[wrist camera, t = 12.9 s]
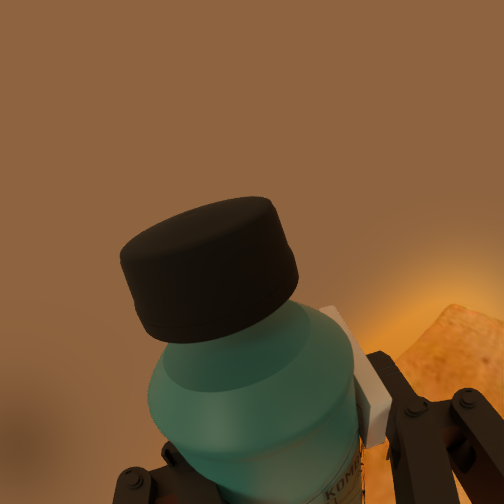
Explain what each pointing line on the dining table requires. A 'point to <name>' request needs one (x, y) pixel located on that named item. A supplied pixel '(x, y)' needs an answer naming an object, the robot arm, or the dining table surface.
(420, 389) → the dining table surface
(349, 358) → the beverage bottle
